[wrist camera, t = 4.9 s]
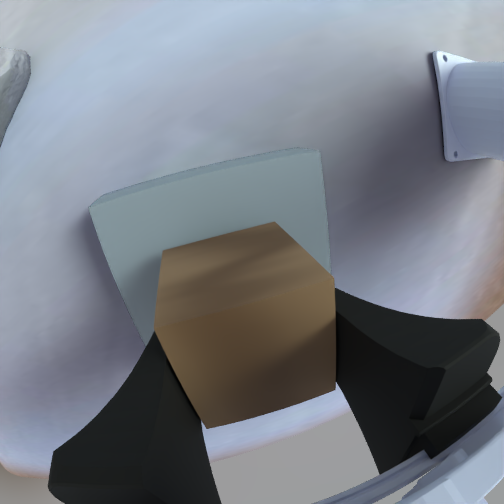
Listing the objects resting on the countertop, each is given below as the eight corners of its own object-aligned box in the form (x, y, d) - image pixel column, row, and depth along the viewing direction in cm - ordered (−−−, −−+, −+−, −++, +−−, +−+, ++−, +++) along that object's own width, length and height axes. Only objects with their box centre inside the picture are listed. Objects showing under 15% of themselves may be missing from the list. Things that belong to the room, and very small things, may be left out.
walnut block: (274, 221, 12) (334, 277, 7) (288, 313, 13) (335, 390, 9) (162, 250, 11) (153, 328, 6) (194, 339, 13) (206, 428, 8)
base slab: (294, 146, 15) (319, 150, 12) (312, 304, 19) (333, 331, 16) (105, 193, 13) (88, 207, 11) (163, 345, 17) (163, 379, 15)
